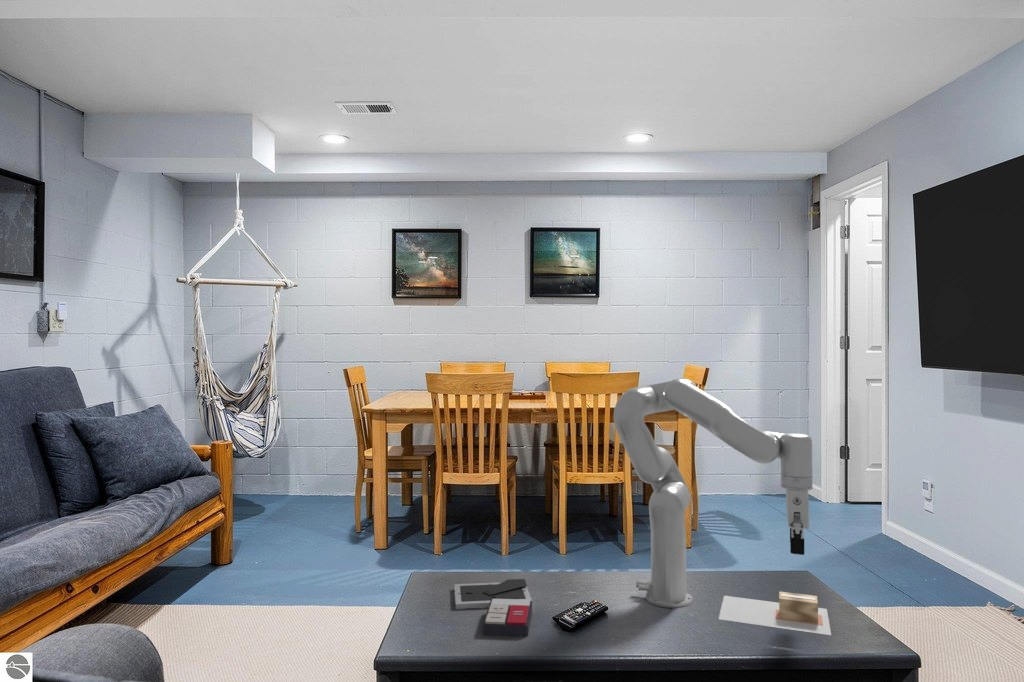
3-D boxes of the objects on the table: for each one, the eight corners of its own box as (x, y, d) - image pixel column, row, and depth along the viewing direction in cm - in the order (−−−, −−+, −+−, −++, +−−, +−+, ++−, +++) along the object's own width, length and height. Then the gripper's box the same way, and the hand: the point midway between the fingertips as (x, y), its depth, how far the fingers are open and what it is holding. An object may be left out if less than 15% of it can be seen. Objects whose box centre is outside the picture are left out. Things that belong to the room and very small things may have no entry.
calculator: (482, 621, 159) (490, 596, 174) (482, 638, 159) (491, 612, 174) (527, 623, 158) (532, 597, 173) (527, 640, 158) (532, 613, 173)
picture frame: (524, 588, 193) (454, 591, 191) (524, 578, 193) (454, 581, 191) (532, 608, 178) (455, 611, 175) (532, 597, 178) (455, 601, 175)
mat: (718, 621, 167) (718, 618, 167) (724, 597, 183) (724, 595, 183) (831, 637, 157) (831, 634, 157) (826, 610, 174) (826, 608, 174)
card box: (817, 615, 169) (816, 595, 169) (818, 623, 164) (817, 602, 164) (779, 610, 172) (779, 590, 172) (779, 618, 167) (779, 598, 167)
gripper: (813, 489, 159) (814, 560, 159) (811, 477, 175) (811, 541, 175) (780, 486, 162) (781, 556, 162) (780, 475, 178) (781, 538, 178)
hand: (797, 548), depth 168 cm, fingers open, 9 cm apart
